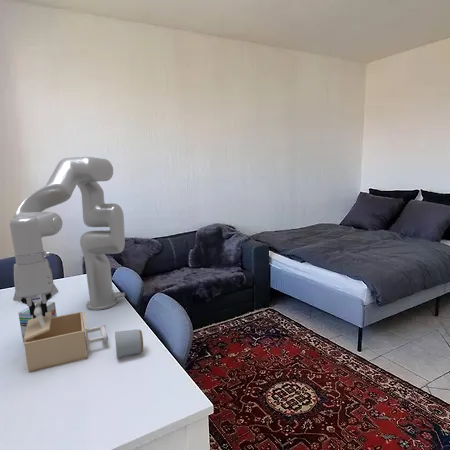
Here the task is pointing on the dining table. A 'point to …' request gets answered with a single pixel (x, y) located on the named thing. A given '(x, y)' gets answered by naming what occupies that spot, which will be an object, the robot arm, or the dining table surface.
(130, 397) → the dining table surface
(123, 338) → the ceramic mug
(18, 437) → the dining table surface
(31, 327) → the flap
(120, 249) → the robot arm
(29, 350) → the carton
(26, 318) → the light bulb box
